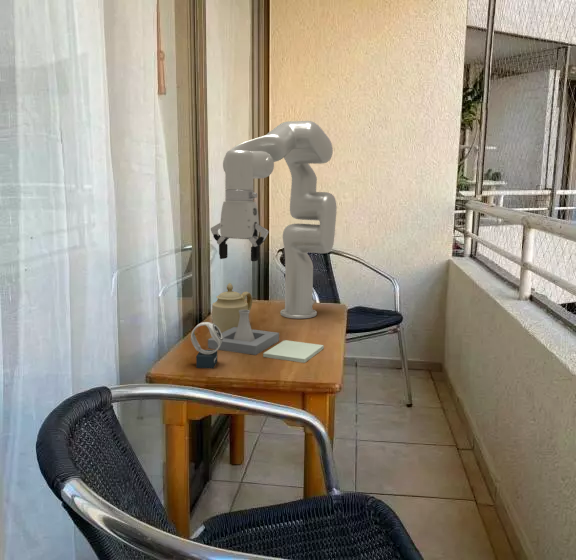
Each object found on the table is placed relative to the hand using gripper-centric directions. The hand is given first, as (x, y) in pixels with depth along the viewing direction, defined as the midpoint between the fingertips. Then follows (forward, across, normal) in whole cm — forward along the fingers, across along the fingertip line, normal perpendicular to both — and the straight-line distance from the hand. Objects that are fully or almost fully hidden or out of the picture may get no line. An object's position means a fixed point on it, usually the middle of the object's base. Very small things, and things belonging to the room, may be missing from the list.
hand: (238, 259), depth 162 cm
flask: (+25, 0, -4) cm, 25 cm away
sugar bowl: (+25, +12, -18) cm, 33 cm away
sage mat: (+25, -16, -2) cm, 30 cm away
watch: (+26, 0, +16) cm, 30 cm away
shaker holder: (+25, 0, -4) cm, 25 cm away
